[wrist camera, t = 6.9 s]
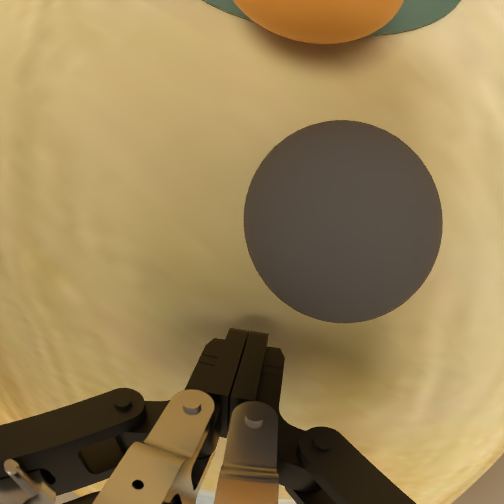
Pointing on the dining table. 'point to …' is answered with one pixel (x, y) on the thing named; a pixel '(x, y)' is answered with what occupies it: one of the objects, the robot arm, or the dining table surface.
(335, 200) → the dark grey ball
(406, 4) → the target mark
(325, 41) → the orange ball
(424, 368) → the dining table surface
